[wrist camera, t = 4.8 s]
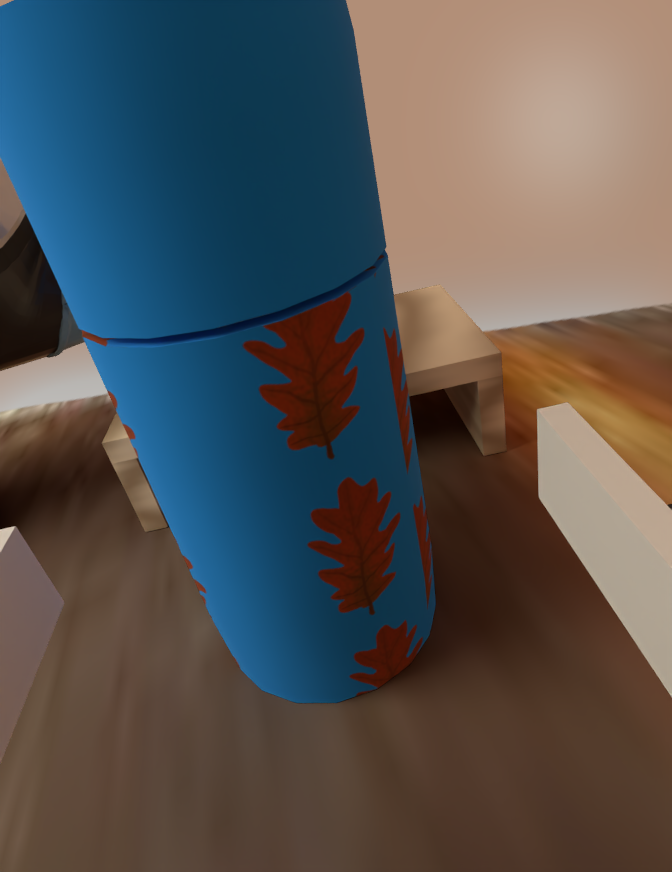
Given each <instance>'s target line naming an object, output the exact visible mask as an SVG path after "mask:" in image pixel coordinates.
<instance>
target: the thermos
mask: <svg viewBox="0 0 672 872" xmlns="http://www.w3.org/2000/svg"><path fill="white" fill-rule="evenodd" d="M0 158H1V160H2V162H3V164H4V166H5V169H6V171H7V173H8V175H9V177H10V180H11V182H12V184H13V186H14V188H15V190H16V193H17V195H18V197H19V199H20V201H21V204H22V206H23V208H24V210H25V212H26V214H27V217H28V219H29V221H30V223H31V225H32V228H33V230H34V232H35V234H36V236H37V238H38V241H39V243H40V245H41V247H42V249H43V252H44V254H45V256H46V258H47V260H48V262H49V265H50V267H51V269H52V271H53V273H54V276H55V278H56V280H57V282H58V284H59V287H60V289H61V291H62V293H63V295H64V297H65V300H66V302H67V304H68V306H69V308H70V311H71V313H72V315H73V317H74V319H75V321H76V324H77V326H78V328H79V329H81V330H82V336H83V339H84V341H85V343H86V345H87V348H88V349H89V352H90V354H91V356H92V358H93V361H94V363H95V365H96V367H97V369H98V372H99V374H100V376H101V378H102V380H103V383H104V385H105V387H106V389H107V391H108V393H109V396H110V398H111V400H112V402H113V404H114V407H115V409H116V411H117V413H118V415H119V417H120V420H121V422H122V424H123V426H124V428H125V431H126V433H127V435H128V437H129V439H130V441H131V444H132V446H133V448H134V450H135V452H136V455H137V457H138V459H139V461H140V463H141V465H142V468H143V470H144V472H145V474H146V476H147V479H148V481H149V483H150V485H151V487H152V489H153V492H154V494H155V496H156V498H157V500H158V503H159V505H160V507H161V509H162V511H163V513H164V516H165V518H166V520H167V522H168V524H169V527H170V529H171V531H172V533H173V535H174V538H175V540H176V542H177V544H178V546H179V548H180V551H181V553H182V555H183V557H184V559H185V562H186V564H187V566H188V568H189V570H190V572H191V575H192V577H193V579H194V581H195V583H196V586H197V588H198V590H199V592H200V594H201V596H202V599H203V601H204V603H205V605H206V607H207V610H208V612H209V614H210V616H211V618H212V620H213V621H214V623H215V625H216V627H217V629H218V630H219V632H220V634H221V636H222V638H223V639H224V641H225V643H226V645H227V646H228V648H229V650H230V652H231V654H232V655H233V657H234V659H235V661H236V663H237V664H238V666H239V668H240V669H241V670H242V671H243V672H244V673H245V674H246V675H247V676H248V677H249V678H250V679H251V680H252V681H253V682H254V683H255V684H256V685H257V686H258V687H259V688H260V689H261V690H262V691H265V692H268V693H270V694H273V695H276V696H278V697H281V698H284V699H287V700H289V701H292V702H295V703H338V702H341V701H343V700H346V699H349V698H352V697H355V696H358V695H361V694H364V693H367V692H370V691H373V690H376V689H378V688H379V687H381V686H382V685H383V684H385V683H386V682H387V681H389V680H390V679H391V678H393V677H394V676H395V675H397V674H398V673H399V672H401V671H402V670H403V669H405V668H406V667H407V666H409V665H410V664H411V662H412V661H413V659H414V658H415V656H416V655H417V653H418V652H419V650H420V649H421V647H422V646H423V644H424V643H425V641H426V640H427V638H428V637H429V635H430V632H431V626H432V621H433V616H434V611H435V606H436V600H435V586H434V573H433V559H432V546H431V539H430V533H429V526H428V519H427V513H426V506H425V499H424V493H423V486H422V480H421V473H420V466H419V460H418V453H417V446H416V440H415V433H414V427H413V420H412V413H411V407H410V400H409V394H408V387H407V380H406V374H405V367H404V360H403V354H402V347H401V341H400V334H399V327H398V321H397V314H396V308H395V301H394V294H393V288H392V281H391V274H390V268H389V262H388V255H387V253H386V251H385V248H386V242H385V235H384V229H383V222H382V215H381V209H380V202H379V195H378V188H377V182H376V176H375V170H374V162H373V155H372V149H371V142H370V136H369V129H368V122H367V116H366V109H365V103H364V96H363V89H362V83H361V76H360V69H359V63H358V56H357V49H356V43H355V36H354V30H353V26H352V23H351V19H350V15H349V11H348V8H347V3H346V0H14V1H11V2H9V3H7V4H5V5H2V6H0Z"/></svg>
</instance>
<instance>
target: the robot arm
mask: <svg viewBox="0 0 672 872" xmlns="http://www.w3.org/2000/svg"><path fill="white" fill-rule="evenodd" d="M83 342H85V341H84V339H83V336H82V330H81V329H79V328H78V326H77V324H76V321H75V319H74V317H73V315H72V313H71V311H70V308H69V306H68V304H67V302H66V300H65V297H64V295H63V293H62V291H61V289H60V287H59V284H58V282H57V280H56V278H55V276H54V273H53V271H52V269H51V267H50V265H49V262H48V260H47V258H46V256H45V254H44V252H43V249H42V247H41V245H40V243H39V241H38V238H37V236H36V234H35V232H34V230H33V228H32V225H31V223H30V221H29V219H28V217H27V214H26V212H25V210H24V208H23V206H22V204H21V201H20V199H19V197H18V195H17V193H16V190H15V188H14V186H13V184H12V182H11V180H10V177H9V175H8V173H7V171H6V169H5V166H4V164H3V162H2V160H1V158H0V371H2V370H5V369H8V368H12V367H15V366H18V365H21V364H25V363H28V362H31V361H34V360H37V359H41V358H44V357H53V356H57V355H59V354H60V353H61V352H62V351H63V350H65V349H67V348H70V347H72V346H75V345H78V344H80V343H83ZM537 438H538V491H539V499H540V500H541V502H542V503H543V505H544V506H545V508H546V509H547V511H548V512H549V514H550V515H551V517H552V518H553V520H554V521H555V523H556V524H557V526H558V527H559V529H560V530H561V532H562V533H563V535H564V536H565V538H566V539H567V541H568V542H569V544H570V545H571V547H572V548H573V550H574V551H575V553H576V554H577V556H578V557H579V559H580V560H581V562H582V563H583V565H584V566H585V568H586V569H587V571H588V572H589V574H590V575H591V577H592V578H593V580H594V581H595V583H596V584H597V586H598V587H599V589H600V590H601V592H602V593H603V595H604V596H605V598H606V599H607V601H608V602H609V604H610V605H611V607H612V608H613V610H614V611H615V613H616V614H617V616H618V617H619V619H620V620H621V622H622V623H623V625H624V626H625V628H626V629H627V631H628V632H629V634H630V635H631V637H632V638H633V640H634V641H635V643H636V644H637V646H638V647H639V649H640V650H641V652H642V653H643V655H644V656H645V658H646V659H647V661H648V662H649V664H650V665H651V667H652V668H653V670H654V671H655V673H656V674H657V676H658V677H659V679H660V680H661V682H662V683H663V685H664V686H665V688H666V689H667V691H668V692H669V694H670V695H671V697H672V504H669V505H666V504H665V503H664V501H663V500H662V499H661V498H660V497H659V496H658V495H657V494H656V493H655V492H654V491H653V490H652V489H651V488H650V487H649V486H648V485H647V484H646V483H645V482H644V481H643V480H642V479H641V478H640V477H639V476H638V475H637V473H636V472H635V471H634V470H633V469H632V468H631V467H630V466H629V465H628V464H627V463H626V462H625V461H624V460H623V459H622V458H621V457H620V456H619V455H618V454H617V453H616V452H615V451H614V450H613V449H612V448H611V446H610V445H609V444H608V443H607V442H606V441H605V440H604V439H603V438H602V437H601V436H600V435H599V434H598V433H597V432H596V431H595V430H594V429H593V428H592V427H591V426H590V425H589V424H588V423H587V422H586V421H585V420H584V418H583V417H582V416H581V415H580V414H579V413H578V412H577V411H576V410H575V409H574V408H573V407H572V406H571V405H570V404H569V403H568V402H567V403H562V404H558V405H553V406H549V407H544V408H540V409H537ZM63 605H64V601H63V599H62V598H61V596H60V595H59V593H58V591H57V590H56V588H55V587H54V585H53V584H52V582H51V581H50V579H49V577H48V576H47V574H46V573H45V571H44V570H43V568H42V566H41V565H40V563H39V562H38V560H37V559H36V557H35V556H34V554H33V552H32V551H31V549H30V548H29V546H28V545H27V543H26V541H25V540H24V538H23V537H22V535H21V534H20V532H19V531H18V529H17V527H16V526H14V527H9V528H5V529H0V763H1V761H2V758H3V756H4V753H5V750H6V748H7V745H8V743H9V740H10V738H11V735H12V733H13V730H14V728H15V725H16V723H17V720H18V718H19V715H20V713H21V710H22V708H23V705H24V703H25V700H26V698H27V695H28V693H29V690H30V688H31V685H32V683H33V680H34V678H35V675H36V673H37V670H38V668H39V665H40V663H41V660H42V658H43V655H44V653H45V650H46V648H47V645H48V643H49V640H50V638H51V635H52V633H53V630H54V628H55V625H56V623H57V620H58V618H59V615H60V613H61V610H62V608H63Z"/></svg>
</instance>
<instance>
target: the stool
mask: <svg viewBox="0 0 672 872" xmlns="http://www.w3.org/2000/svg"><path fill="white" fill-rule="evenodd" d="M394 301H395V308H396V314H397V321H398V327H399V334H400V341H401V347H402V354H403V360H404V367H405V374H406V380H407V387H408V394H409V396H413V395H418V394H422V393H427V392H431V391H435V390H440V389H444V390H445V392H446V394H447V395H448V397H449V399H450V400H451V402H452V404H453V405H454V407H455V409H456V410H457V412H458V414H459V415H460V417H461V419H462V420H463V422H464V424H465V425H466V427H467V429H468V430H469V432H470V434H471V435H472V437H473V439H474V440H475V442H476V444H477V445H478V447H479V449H480V451H481V452H482V454H483V456H486V455H491V454H495V453H500V452H504V451H507V449H506V431H505V412H504V394H503V375H502V356H501V352H500V350H499V349H498V348H497V347H496V346H495V345H494V344H493V343H492V342H491V340H490V339H489V338H488V337H487V336H486V335H485V334H484V333H483V332H482V331H481V329H480V328H479V327H478V326H477V325H476V324H475V323H474V322H473V320H472V319H471V318H470V317H469V316H468V315H467V314H466V313H465V312H464V311H463V309H462V308H461V307H460V306H459V305H458V304H457V303H456V302H455V301H454V299H453V298H452V297H451V296H450V295H449V294H448V293H447V292H446V291H445V289H444V288H443V287H442V286H441V285H435V286H431V287H426V288H422V289H417V290H413V291H409V292H405V293H400V294H396V295H394ZM102 445H103V447H104V449H105V451H106V453H107V455H108V457H109V459H110V461H111V463H112V465H113V467H114V469H115V471H116V473H117V475H118V477H119V479H120V481H121V483H122V485H123V487H124V489H125V492H126V494H127V496H128V498H129V500H130V502H131V504H132V506H133V508H134V510H135V512H136V514H137V516H138V518H139V520H140V522H141V524H142V526H143V528H144V530H145V532H148V531H153V530H157V529H162V528H166V527H168V522H167V520H166V518H165V516H164V513H163V511H162V509H161V507H160V505H159V503H158V500H157V498H156V496H155V494H154V492H153V489H152V487H151V485H150V483H149V481H148V479H147V476H146V474H145V472H144V470H143V468H142V465H141V463H140V461H139V459H138V457H137V455H136V452H135V450H134V448H133V446H132V444H131V441H130V439H129V437H128V435H127V433H126V431H125V428H124V426H123V424H122V422H121V420H120V417H119V415H118V413H117V412H116V414H115V416H114V418H113V421H112V423H111V425H110V427H109V429H108V431H107V433H106V435H105V438H104V440H103V442H102Z"/></svg>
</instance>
